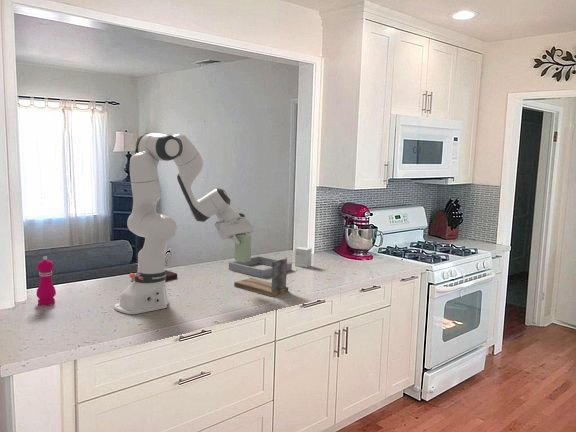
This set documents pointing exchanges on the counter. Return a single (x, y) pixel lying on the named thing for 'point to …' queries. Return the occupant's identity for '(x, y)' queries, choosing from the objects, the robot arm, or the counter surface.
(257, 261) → the gray square frame
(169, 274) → the book
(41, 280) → the pepper mill
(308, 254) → the small box
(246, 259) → the sage green box
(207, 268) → the counter surface
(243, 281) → the bookend
